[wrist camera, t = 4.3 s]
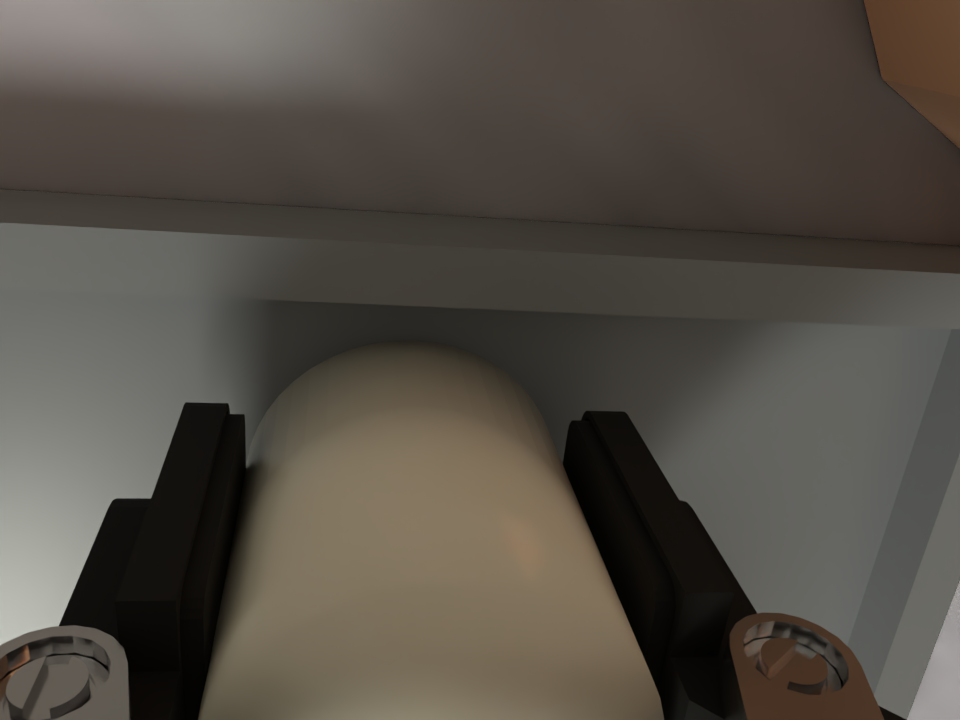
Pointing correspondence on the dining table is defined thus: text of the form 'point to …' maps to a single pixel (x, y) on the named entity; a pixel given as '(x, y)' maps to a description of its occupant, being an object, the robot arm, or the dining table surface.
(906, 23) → the bowl
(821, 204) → the dining table surface
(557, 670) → the pebble
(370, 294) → the parts tray
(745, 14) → the dining table surface
